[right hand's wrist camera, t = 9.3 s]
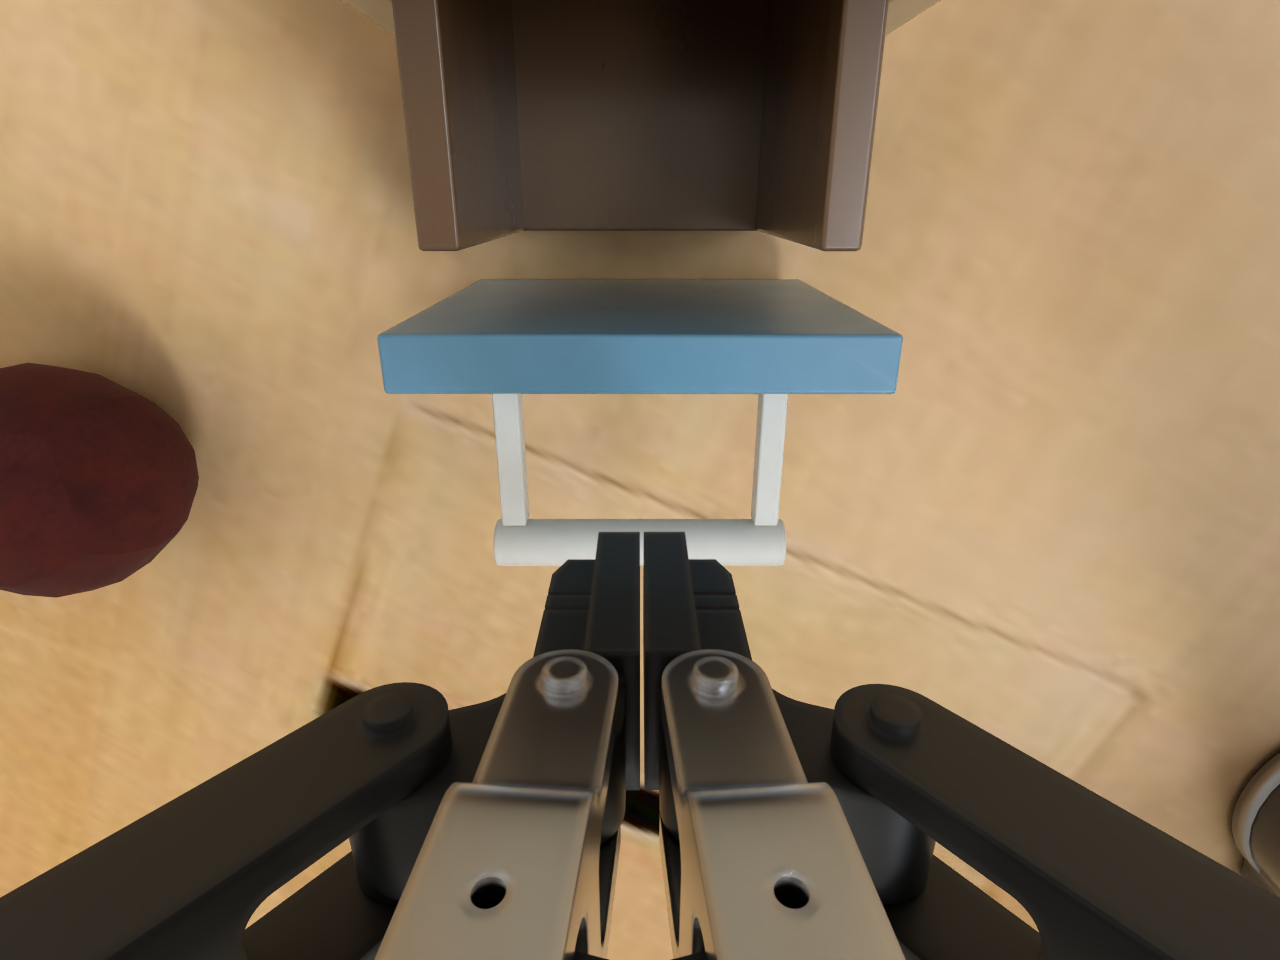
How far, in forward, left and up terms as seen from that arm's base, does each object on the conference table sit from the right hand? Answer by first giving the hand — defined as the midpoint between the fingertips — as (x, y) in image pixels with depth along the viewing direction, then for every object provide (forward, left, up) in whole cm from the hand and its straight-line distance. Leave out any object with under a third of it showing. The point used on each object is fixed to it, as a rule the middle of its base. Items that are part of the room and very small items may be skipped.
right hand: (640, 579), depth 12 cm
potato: (-2, +18, -13) cm, 23 cm away
